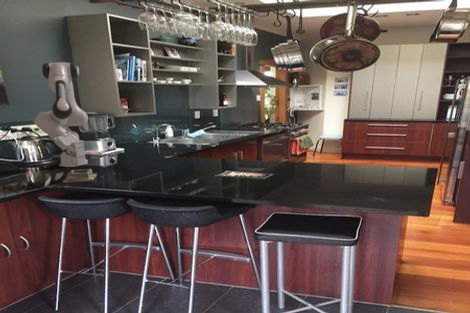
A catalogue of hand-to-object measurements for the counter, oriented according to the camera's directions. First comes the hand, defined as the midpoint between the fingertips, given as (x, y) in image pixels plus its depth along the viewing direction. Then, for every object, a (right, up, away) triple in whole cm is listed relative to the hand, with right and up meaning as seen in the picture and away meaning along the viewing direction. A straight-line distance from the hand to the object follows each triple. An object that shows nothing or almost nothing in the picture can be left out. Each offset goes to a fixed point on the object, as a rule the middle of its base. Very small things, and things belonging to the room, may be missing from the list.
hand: (78, 150), depth 196 cm
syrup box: (-1, -9, +2) cm, 9 cm away
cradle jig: (0, -17, +3) cm, 17 cm away
